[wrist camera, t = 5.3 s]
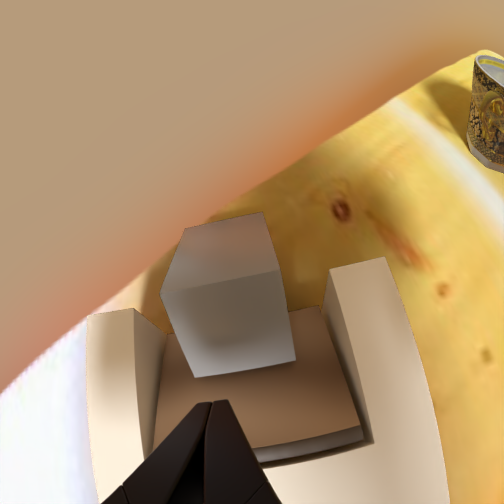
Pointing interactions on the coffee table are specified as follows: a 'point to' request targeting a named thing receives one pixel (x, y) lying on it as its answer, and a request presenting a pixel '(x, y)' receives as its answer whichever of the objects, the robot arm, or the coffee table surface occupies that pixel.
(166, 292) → the stone
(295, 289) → the coffee table surface
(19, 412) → the coffee table surface
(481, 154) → the ceramic cup
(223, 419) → the robot arm
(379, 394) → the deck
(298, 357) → the trapdoor
